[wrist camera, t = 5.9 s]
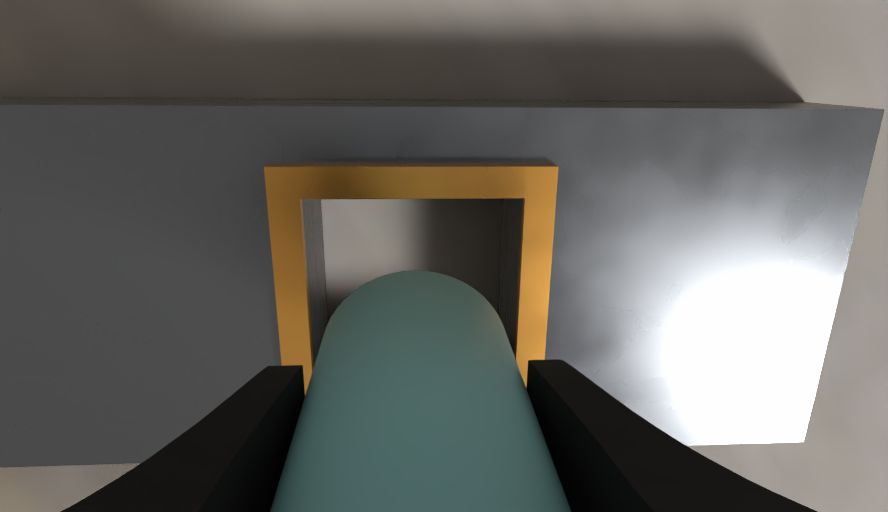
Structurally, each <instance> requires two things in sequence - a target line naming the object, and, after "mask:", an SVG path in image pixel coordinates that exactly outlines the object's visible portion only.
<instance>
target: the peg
mask: <svg viewBox="0 0 888 512" xmlns="http://www.w3.org/2000/svg"><path fill="white" fill-rule="evenodd" d="M270 512H571V509H570V506H569V503H568V501H567V498H566V495H565V493H564V490H563V487H562V484H561V482H560V479H559V476H558V473H557V471H556V468H555V465H554V463H553V460H552V457H551V454H550V452H549V449H548V446H547V443H546V441H545V438H544V435H543V433H542V430H541V427H540V424H539V422H538V419H537V416H536V413H535V411H534V408H533V405H532V403H531V400H530V397H529V394H528V392H527V389H526V386H525V384H524V381H523V378H522V375H521V373H520V370H519V367H518V364H517V362H516V359H515V356H514V354H513V351H512V348H511V345H510V343H509V340H508V337H507V334H506V332H505V329H504V326H503V324H502V322H501V320H500V318H499V316H498V314H497V312H496V311H495V309H494V308H493V307H492V305H491V304H490V303H489V302H488V301H487V300H486V299H485V297H484V296H483V295H481V294H480V293H479V292H478V291H476V290H475V289H474V288H472V287H471V286H469V285H468V284H466V283H464V282H462V281H460V280H458V279H456V278H454V277H451V276H448V275H444V274H441V273H436V272H430V271H416V270H414V271H402V272H396V273H391V274H388V275H385V276H382V277H378V278H376V279H374V280H372V281H370V282H368V283H366V284H364V285H362V286H361V287H359V288H358V289H356V290H355V291H354V292H352V293H351V294H350V295H349V296H348V297H347V298H345V300H344V301H343V302H342V303H341V304H340V305H339V306H338V307H337V309H336V310H335V312H334V313H333V315H332V316H331V318H330V320H329V322H328V324H327V326H326V329H325V332H324V336H323V339H322V342H321V345H320V349H319V352H318V355H317V359H316V362H315V365H314V368H313V372H312V375H311V378H310V382H309V385H308V388H307V391H306V395H305V398H304V401H303V405H302V408H301V411H300V415H299V418H298V421H297V424H296V428H295V431H294V434H293V438H292V441H291V444H290V448H289V451H288V454H287V457H286V461H285V464H284V467H283V471H282V474H281V477H280V481H279V484H278V487H277V490H276V494H275V497H274V500H273V504H272V507H271V510H270Z"/></svg>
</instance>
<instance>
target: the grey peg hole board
mask: <svg viewBox="0 0 888 512" xmlns="http://www.w3.org/2000/svg"><path fill="white" fill-rule="evenodd" d="M883 113H884V109H875V108H864V107H853V106H842V105H831V104H820V103H809V102H669V101H501V100H332V99H163V98H0V467H29V466H60V465H92V464H123V463H142V462H144V461H145V460H147V459H148V458H150V457H151V456H152V455H154V454H155V453H157V452H158V451H159V450H161V449H162V448H163V447H165V446H166V445H168V444H169V443H170V442H172V441H173V440H174V439H176V438H177V437H179V436H180V435H181V434H183V433H184V432H185V431H187V430H188V429H190V428H191V427H192V426H194V425H195V424H196V423H198V422H199V421H200V420H201V419H203V418H204V417H205V416H206V415H208V414H209V413H210V412H211V411H213V410H214V409H215V408H216V407H218V406H219V405H220V404H221V403H223V402H224V401H225V400H226V399H228V398H229V397H230V396H231V395H232V394H234V393H235V392H236V391H237V390H238V389H240V388H241V387H242V386H243V385H244V384H246V383H247V382H248V381H249V380H250V379H252V378H253V377H254V376H255V375H257V374H258V373H259V372H260V371H262V370H263V369H264V368H266V367H267V366H285V365H303V375H304V388H305V395H306V391H307V388H308V385H309V382H310V378H311V375H312V372H313V368H314V365H315V362H316V359H317V355H318V352H319V349H320V345H321V342H322V339H323V336H324V332H325V329H326V326H327V324H328V313H327V296H326V279H325V262H324V246H323V229H322V212H321V199H473V198H503V209H502V233H501V256H500V280H499V304H498V316H499V318H500V320H501V322H502V324H503V326H504V329H505V332H506V334H507V337H508V340H509V343H510V345H511V348H512V351H513V354H514V356H515V359H516V362H517V364H518V367H519V370H520V373H521V375H522V378H523V381H524V384H525V386H526V388H527V372H528V360H553V359H562V360H563V361H565V362H566V363H568V364H569V365H571V366H572V367H574V368H575V369H576V370H578V371H579V372H580V373H582V374H583V375H585V376H586V377H587V378H589V379H590V380H591V381H593V382H594V383H595V384H597V385H598V386H599V387H601V388H602V389H603V390H605V391H606V392H607V393H609V394H610V395H611V396H613V397H614V398H615V399H617V400H618V401H620V402H621V403H622V404H624V405H625V406H627V407H628V408H629V409H631V410H632V411H634V412H635V413H636V414H638V415H639V416H641V417H642V418H644V419H645V420H647V421H648V422H650V423H651V424H653V425H654V426H656V427H657V428H659V429H660V430H662V431H663V432H665V433H667V434H668V435H670V436H671V437H673V438H675V439H676V440H678V441H679V442H681V443H682V444H684V445H686V446H690V445H721V444H753V443H784V442H804V438H805V434H806V430H807V426H808V422H809V417H810V413H811V409H812V405H813V401H814V397H815V393H816V389H817V385H818V380H819V376H820V372H821V368H822V364H823V360H824V356H825V352H826V348H827V343H828V339H829V335H830V331H831V327H832V323H833V319H834V315H835V311H836V306H837V302H838V298H839V294H840V290H841V286H842V282H843V278H844V274H845V270H846V265H847V261H848V257H849V253H850V249H851V245H852V241H853V237H854V233H855V228H856V224H857V220H858V216H859V212H860V208H861V204H862V200H863V196H864V191H865V187H866V183H867V179H868V175H869V171H870V167H871V163H872V159H873V154H874V150H875V146H876V142H877V138H878V134H879V130H880V126H881V122H882V117H883Z"/></svg>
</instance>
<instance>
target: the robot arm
mask: <svg viewBox="0 0 888 512" xmlns="http://www.w3.org/2000/svg"><path fill="white" fill-rule="evenodd" d="M526 389H527V392H528V394H529V397H530V400H531V403H532V405H533V408H534V411H535V413H536V416H537V419H538V422H539V424H540V427H541V430H542V433H543V435H544V438H545V441H546V443H547V446H548V449H549V452H550V454H551V457H552V460H553V463H554V465H555V468H556V471H557V473H558V476H559V479H560V482H561V484H562V487H563V490H564V493H565V495H566V498H567V501H568V503H569V506H570V509H571V512H817V511H815V510H813V509H810V508H808V507H806V506H804V505H801V504H799V503H797V502H795V501H792V500H790V499H788V498H786V497H783V496H781V495H779V494H777V493H774V492H772V491H770V490H768V489H766V488H764V487H762V486H760V485H758V484H756V483H753V482H751V481H749V480H747V479H746V478H744V477H742V476H740V475H738V474H736V473H734V472H732V471H730V470H729V469H727V468H725V467H723V466H721V465H719V464H717V463H715V462H714V461H712V460H710V459H708V458H706V457H704V456H703V455H701V454H699V453H698V452H696V451H694V450H692V449H691V448H689V447H687V446H686V445H684V444H682V443H681V442H679V441H678V440H676V439H675V438H673V437H671V436H670V435H668V434H667V433H665V432H663V431H662V430H660V429H659V428H657V427H656V426H654V425H653V424H651V423H650V422H648V421H647V420H645V419H644V418H642V417H641V416H639V415H638V414H636V413H635V412H634V411H632V410H631V409H629V408H628V407H627V406H625V405H624V404H622V403H621V402H620V401H618V400H617V399H615V398H614V397H613V396H611V395H610V394H609V393H607V392H606V391H605V390H603V389H602V388H601V387H599V386H598V385H597V384H595V383H594V382H593V381H591V380H590V379H589V378H587V377H586V376H585V375H583V374H582V373H580V372H579V371H578V370H576V369H575V368H574V367H572V366H571V365H569V364H568V363H566V362H565V361H563V360H562V359H553V360H528V372H527V388H526ZM304 398H305V388H304V375H303V365H285V366H267V367H266V368H264V369H263V370H262V371H260V372H259V373H258V374H257V375H255V376H254V377H253V378H252V379H250V380H249V381H248V382H247V383H246V384H244V385H243V386H242V387H241V388H240V389H238V390H237V391H236V392H235V393H234V394H232V395H231V396H230V397H229V398H228V399H226V400H225V401H224V402H223V403H221V404H220V405H219V406H218V407H216V408H215V409H214V410H213V411H211V412H210V413H209V414H208V415H206V416H205V417H204V418H203V419H201V420H200V421H199V422H198V423H196V424H195V425H194V426H192V427H191V428H190V429H188V430H187V431H185V432H184V433H183V434H181V435H180V436H179V437H177V438H176V439H174V440H173V441H172V442H170V443H169V444H168V445H166V446H165V447H163V448H162V449H161V450H159V451H158V452H157V453H155V454H154V455H152V456H151V457H150V458H148V459H147V460H145V461H144V462H142V463H141V464H139V465H138V466H136V467H135V468H133V469H132V470H130V471H129V472H127V473H126V474H124V475H122V476H121V477H119V478H118V479H116V480H114V481H113V482H111V483H110V484H108V485H106V486H105V487H103V488H101V489H100V490H98V491H96V492H95V493H93V494H91V495H90V496H88V497H86V498H85V499H83V500H81V501H79V502H78V503H76V504H74V505H72V506H71V507H69V508H67V509H65V510H63V511H61V512H270V510H271V507H272V504H273V500H274V497H275V494H276V490H277V487H278V484H279V481H280V477H281V474H282V471H283V467H284V464H285V461H286V457H287V454H288V451H289V448H290V444H291V441H292V438H293V434H294V431H295V428H296V424H297V421H298V418H299V415H300V411H301V408H302V405H303V401H304Z"/></svg>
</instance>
